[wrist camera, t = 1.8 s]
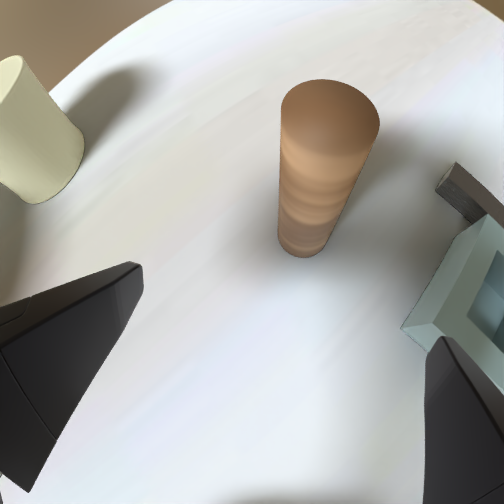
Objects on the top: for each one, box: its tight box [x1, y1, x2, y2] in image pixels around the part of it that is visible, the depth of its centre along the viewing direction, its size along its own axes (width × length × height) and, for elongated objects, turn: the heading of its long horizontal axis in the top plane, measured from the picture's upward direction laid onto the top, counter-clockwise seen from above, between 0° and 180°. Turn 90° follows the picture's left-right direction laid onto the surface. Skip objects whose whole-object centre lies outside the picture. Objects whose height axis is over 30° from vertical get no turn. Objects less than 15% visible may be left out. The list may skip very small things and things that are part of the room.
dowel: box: [278, 79, 380, 258], centre depth 17 cm, size 4×4×13 cm
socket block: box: [400, 214, 504, 395], centre depth 18 cm, size 9×9×5 cm
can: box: [0, 55, 84, 204], centre depth 21 cm, size 9×9×12 cm
